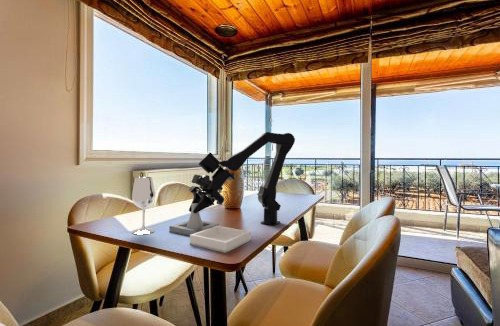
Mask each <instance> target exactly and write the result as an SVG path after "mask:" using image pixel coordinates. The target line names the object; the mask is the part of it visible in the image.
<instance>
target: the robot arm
mask: <svg viewBox="0 0 500 326" xmlns="http://www.w3.org/2000/svg"><path fill="white" fill-rule="evenodd" d="M295 142H296V138H295V136H294V135H293V134H292V133H291V132H285V133H276V132H270V131H266V132H264V133H262V135H260V136H259V137H258V138H257V139H255V140H254V141H252V142H251V143H250V144H248V145H247V146H246V147H245V148H244V149H242V150H241V151H238V152H236V153H234V154H232V155H230V156H229V157H227V158H226V159H225V160H218V159H217V158H216V156H214V155H213V153H212V152H208V153H207V154H206V155H205V156H204V157H203V158H202V159H201V160H200V161H199V162H198V164H197V165H198V166H199V167H200V168H201V169H203V171H204V172H206V173H207V174H203V175H201V174H194V175H193V177H192V180H191V183H192V184H195V185H191V186H190V187H189V188H188V191H189V192H190V193H191V194H192V195H193V197H192V201H191V203H190V206H189V208H188V211H189V212H190V213H191V210H192V206H191V204H193V203H198V204H197V206H196V207H195V209H194V210H193V213H197V212H199V213H200V212H202V211H203V210H204V209H207V208H209V207H212V206H214V205H215V202H216V205H219V206H222V205H223V204H224V202H225V197H224V196H223V195H222V194H221V193H220V191H223V186H224V185H225V183H226V182H227V181H231V182H232V181H233V180H235V175H234V172H236V171H238V170H240V169H241V167H242V166H244V164H245V163H246V161H247V160H248V159H249V158H250V157H251V156H252V155H254V154H255V153H256V152H258V151H259V150H260V149H261V148H263V147H264V146H265V145H266V144H268V143H271V144H274V145H275V151H276V152H275V155H274V158H273V161H272V164H271V168H270V171H269V172H268V177H267V180H266V183H265V184H264V185H263V186H262V185H260V186H259V190H258V193H257V194H256V195H257V201H258V202H259V203H260V204H261V205H262V207H263V221H261V222H260V224H261V225H262V224H263V225H269V226H276V225H278V224H280V223H281V221H278V211H280V209H281V204H280V203H279V202H278V201H277V200H276V197H277V185H278V183H279V179H280V176H281V173H282V169H283V166H284V163H285V161H286V157H287V155H288V154H289V152H291V150H292V148H293V146H294V144H295ZM231 171H232V173H231ZM210 173H211V174H213V175H211V177H210V175H208V174H210ZM197 185H198V186H197Z"/></svg>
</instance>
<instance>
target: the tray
mask: <svg viewBox="0 0 500 326" xmlns="http://www.w3.org/2000/svg"><path fill="white" fill-rule="evenodd" d="M251 233H252V232H251V230H250V231H249V230H243V229H239V228H232V227H228V226H222V225H219V226H215V227H212V228H209V229H206V230H203V231H200V232H197V233H194V234H191V235H190V236H189V245H191V246H194V247H195V246H196V247H199V248H204V249H206V250H212V251H215V252H219V253H224V254H226V253H228V252H230V251H233V250H235V249H237V248H239V247H241V246H242V245H244V244H246V243H249V242H251V237H252V235H251Z"/></svg>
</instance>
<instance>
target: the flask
mask: <svg viewBox="0 0 500 326" xmlns="http://www.w3.org/2000/svg"><path fill="white" fill-rule="evenodd" d="M197 204H198V203H193V204H191V203H190V206H192V210H191V212H190V216H189V219H188V220H187V221H188V224H187V228H192V229H198V228H201V227H204V226H203V223H202V221H203V220H202V219H201V215H200V211H199V212H197V213H193V210H194V209H195V207H196V206H197Z"/></svg>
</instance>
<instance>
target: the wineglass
mask: <svg viewBox="0 0 500 326" xmlns="http://www.w3.org/2000/svg"><path fill="white" fill-rule="evenodd" d="M155 198H156V191H155V186H154V181H153V177H151V176H137V177H135V179H134V184H133V188H132V193H131V199H132V203H133V204H134V206H136V207H138V208H139V209H141V213H142V222H141V223H142V225H141V228H137V229H134V230H132V232H131V233H132V234H133V235H148V234H149V235H150V234H152V233H154V232H155V229H153V228H151V227H150V228H149V227H146V225H145V213H146V209H147V208H150V206H152V205H153V204H154V201H155Z"/></svg>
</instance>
